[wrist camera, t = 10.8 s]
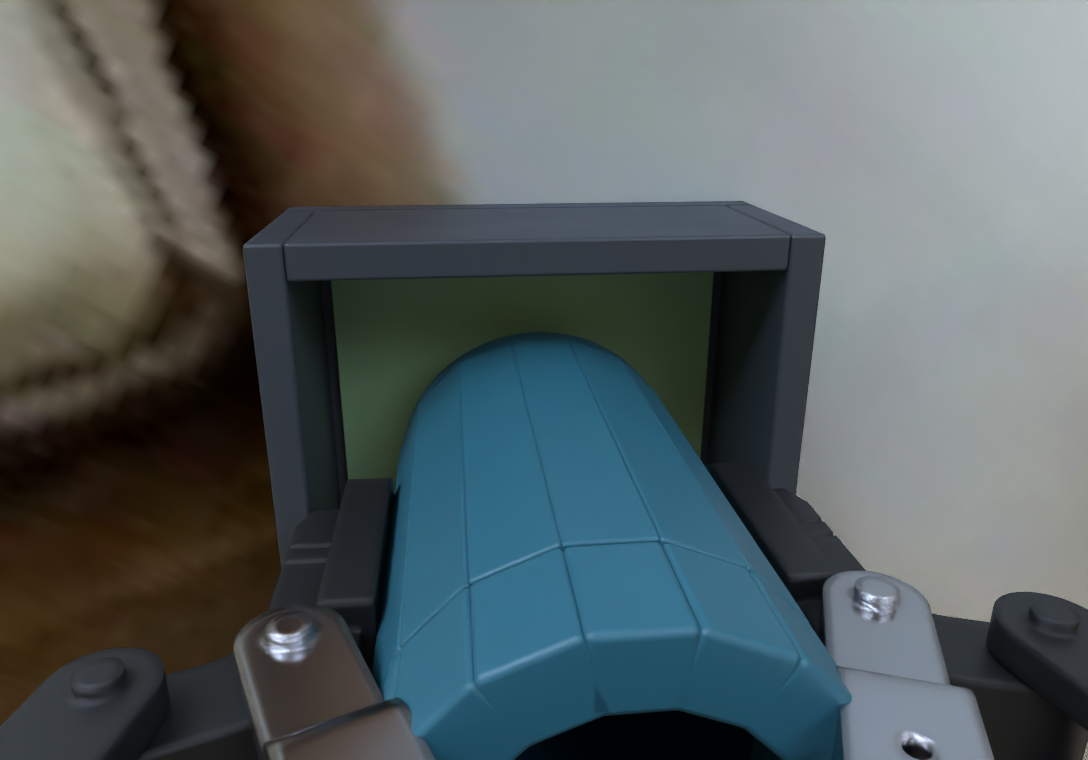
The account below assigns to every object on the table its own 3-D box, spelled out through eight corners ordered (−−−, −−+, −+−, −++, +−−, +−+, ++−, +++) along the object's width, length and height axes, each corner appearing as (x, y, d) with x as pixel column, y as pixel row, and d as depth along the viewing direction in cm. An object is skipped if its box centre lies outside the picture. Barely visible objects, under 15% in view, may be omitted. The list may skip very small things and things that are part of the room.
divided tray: (356, 879, 22) (337, 1040, 19) (288, 206, 16) (241, 244, 12) (691, 847, 23) (738, 994, 19) (744, 200, 17) (828, 233, 13)
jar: (409, 580, 17) (371, 1075, 8) (394, 334, 15) (328, 653, 7) (659, 565, 17) (858, 1018, 9) (673, 326, 16) (936, 613, 7)
